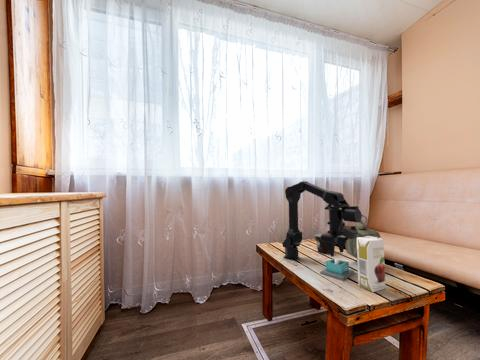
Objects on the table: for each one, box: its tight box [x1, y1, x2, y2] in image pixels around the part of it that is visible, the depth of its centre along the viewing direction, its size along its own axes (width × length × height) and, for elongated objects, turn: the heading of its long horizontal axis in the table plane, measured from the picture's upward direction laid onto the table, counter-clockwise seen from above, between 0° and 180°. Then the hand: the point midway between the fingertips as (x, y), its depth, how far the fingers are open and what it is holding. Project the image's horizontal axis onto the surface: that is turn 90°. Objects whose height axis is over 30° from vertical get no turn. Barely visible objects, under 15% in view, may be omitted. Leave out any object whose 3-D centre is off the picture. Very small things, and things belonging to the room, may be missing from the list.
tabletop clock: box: [344, 214, 381, 259], centre depth 107 cm, size 14×9×25 cm, turn 14°
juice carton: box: [356, 236, 386, 293], centre depth 83 cm, size 8×9×19 cm
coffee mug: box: [314, 233, 330, 255], centre depth 130 cm, size 12×9×10 cm
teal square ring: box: [325, 258, 350, 275], centre depth 96 cm, size 7×7×4 cm
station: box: [320, 258, 355, 281], centre depth 96 cm, size 10×12×6 cm
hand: (337, 254), depth 96 cm, fingers open, 9 cm apart
